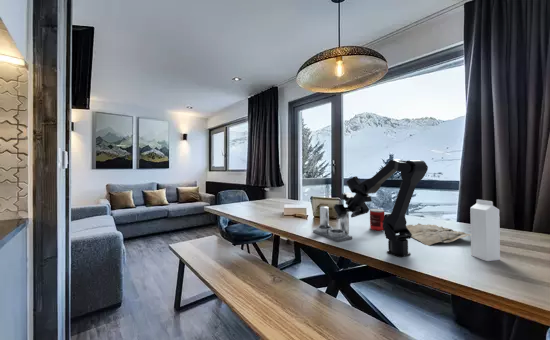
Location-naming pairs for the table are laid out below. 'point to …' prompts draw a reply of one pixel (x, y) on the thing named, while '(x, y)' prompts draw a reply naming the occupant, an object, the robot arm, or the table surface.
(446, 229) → the stone slab
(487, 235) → the milk
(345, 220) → the billet
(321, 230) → the grey cylinder holder
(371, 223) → the canned food
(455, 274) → the table surface
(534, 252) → the table surface
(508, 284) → the table surface
